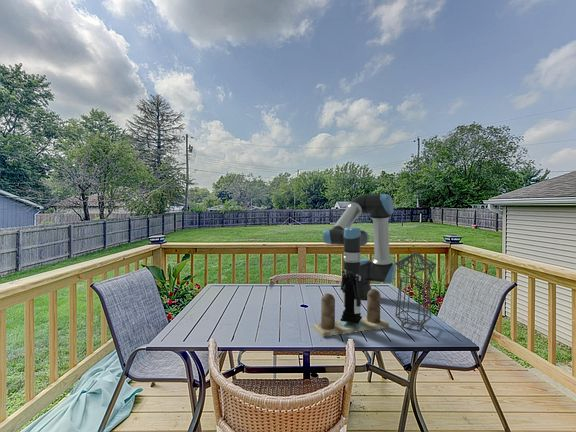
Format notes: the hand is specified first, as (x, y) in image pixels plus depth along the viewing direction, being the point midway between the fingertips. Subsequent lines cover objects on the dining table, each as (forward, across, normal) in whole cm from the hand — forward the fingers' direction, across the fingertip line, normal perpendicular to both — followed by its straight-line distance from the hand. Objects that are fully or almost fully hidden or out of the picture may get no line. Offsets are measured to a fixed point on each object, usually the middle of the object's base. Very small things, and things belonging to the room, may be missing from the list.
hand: (351, 309), depth 139 cm
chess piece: (+5, 0, 0) cm, 5 cm away
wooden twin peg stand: (+9, 0, 0) cm, 9 cm away
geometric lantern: (+9, +8, +29) cm, 31 cm away
